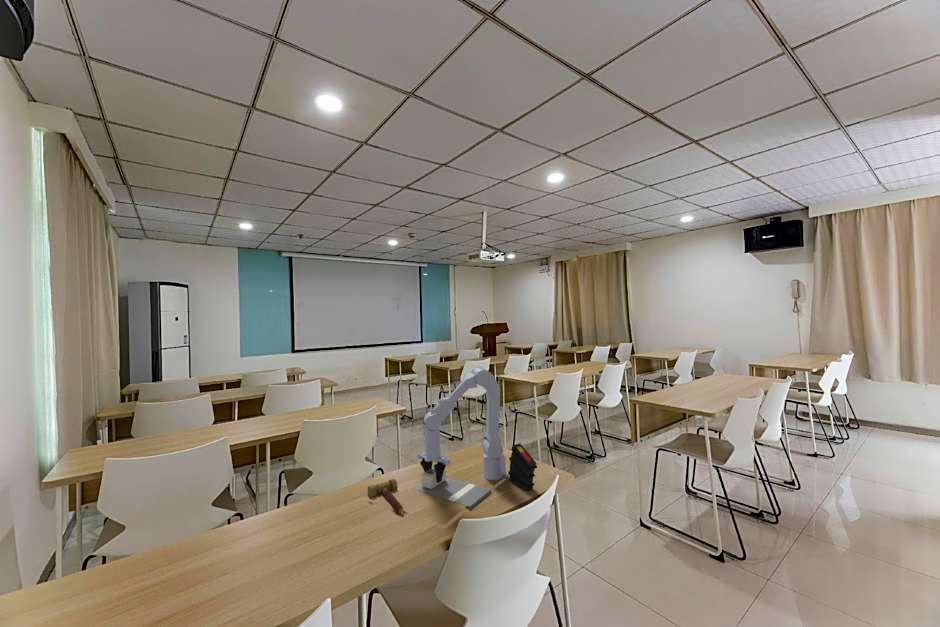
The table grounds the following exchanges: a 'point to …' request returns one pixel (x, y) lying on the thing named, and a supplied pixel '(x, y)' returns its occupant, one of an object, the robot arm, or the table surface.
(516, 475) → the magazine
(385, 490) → the gavel
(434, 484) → the block
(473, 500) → the board
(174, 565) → the table surface
